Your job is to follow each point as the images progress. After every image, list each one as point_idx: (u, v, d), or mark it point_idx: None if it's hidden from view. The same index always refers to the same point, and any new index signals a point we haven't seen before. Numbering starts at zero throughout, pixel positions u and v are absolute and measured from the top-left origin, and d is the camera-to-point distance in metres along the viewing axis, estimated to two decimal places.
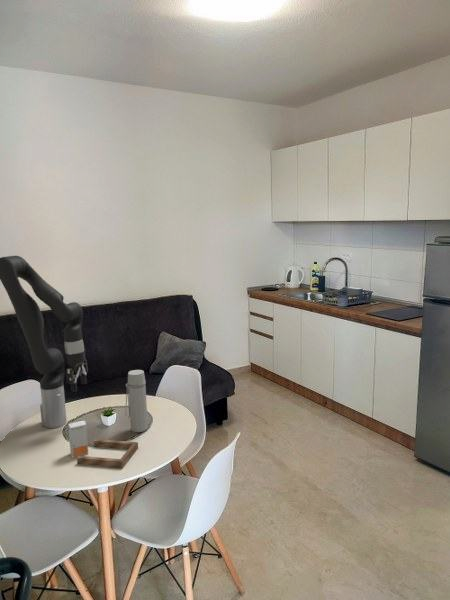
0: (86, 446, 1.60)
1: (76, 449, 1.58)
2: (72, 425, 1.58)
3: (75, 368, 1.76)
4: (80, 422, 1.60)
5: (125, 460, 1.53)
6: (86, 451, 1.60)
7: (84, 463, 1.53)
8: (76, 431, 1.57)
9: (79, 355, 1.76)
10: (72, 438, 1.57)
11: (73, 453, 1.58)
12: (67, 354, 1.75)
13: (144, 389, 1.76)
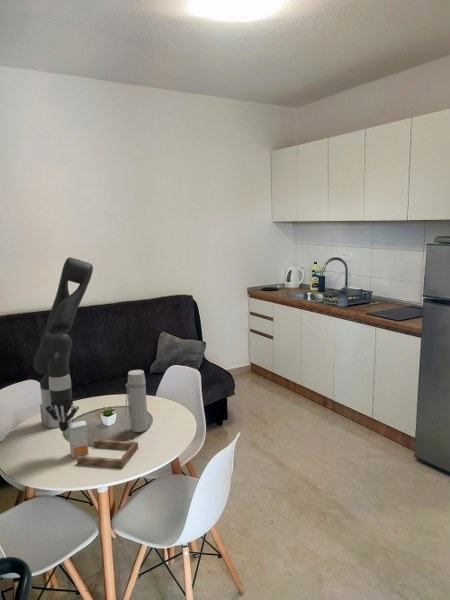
0: (86, 446, 1.60)
1: (76, 449, 1.58)
2: (72, 425, 1.58)
3: None
4: (80, 422, 1.60)
5: (125, 460, 1.53)
6: (86, 451, 1.60)
7: (84, 463, 1.53)
8: (76, 431, 1.57)
9: None
10: (72, 438, 1.57)
11: (73, 453, 1.58)
12: (66, 389, 1.55)
13: (144, 389, 1.76)
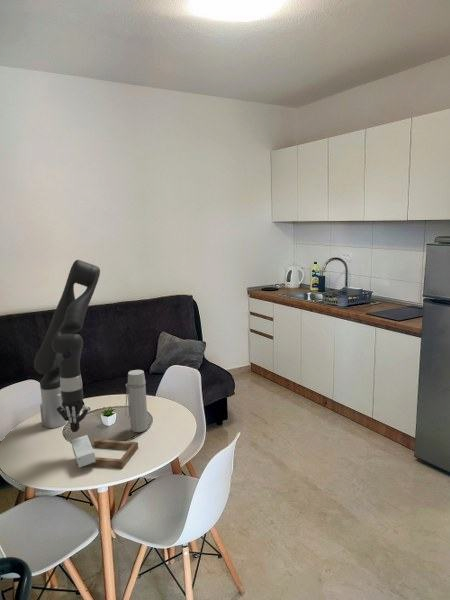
0: None
1: None
2: (81, 463, 1.48)
3: None
4: (89, 457, 1.49)
5: (125, 460, 1.53)
6: None
7: None
8: None
9: None
10: None
11: None
12: (77, 390, 1.55)
13: (144, 389, 1.76)
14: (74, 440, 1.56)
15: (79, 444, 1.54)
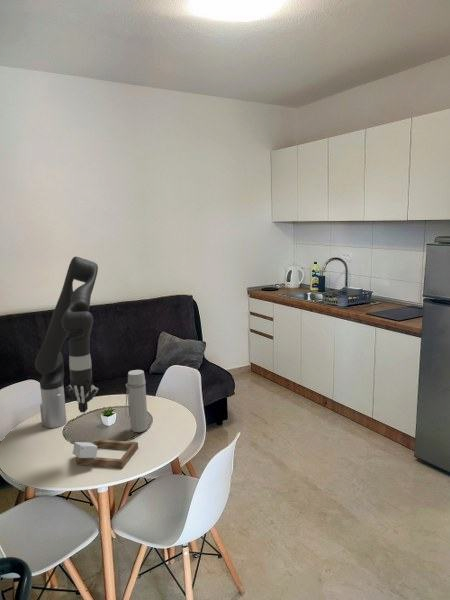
0: None
1: None
2: (82, 453, 1.49)
3: None
4: (92, 449, 1.50)
5: (125, 460, 1.53)
6: None
7: (84, 463, 1.53)
8: None
9: None
10: (78, 456, 1.52)
11: None
12: (86, 369, 1.52)
13: (144, 389, 1.76)
14: (78, 442, 1.59)
15: (83, 443, 1.56)
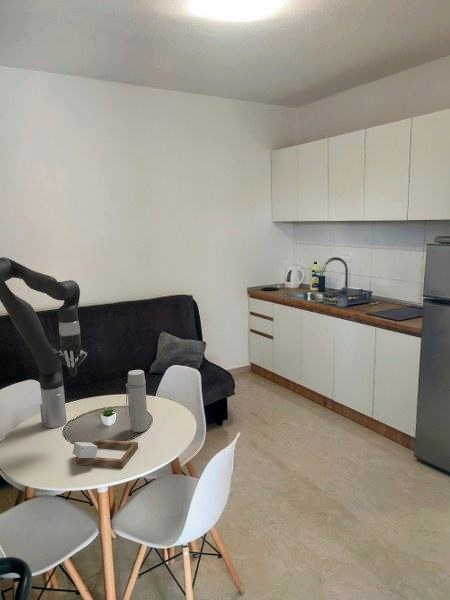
0: None
1: None
2: (82, 453, 1.49)
3: None
4: (92, 449, 1.50)
5: (125, 460, 1.53)
6: None
7: (84, 463, 1.53)
8: None
9: None
10: (78, 456, 1.52)
11: None
12: (75, 335, 1.63)
13: (144, 389, 1.76)
14: (78, 442, 1.59)
15: (83, 443, 1.56)
